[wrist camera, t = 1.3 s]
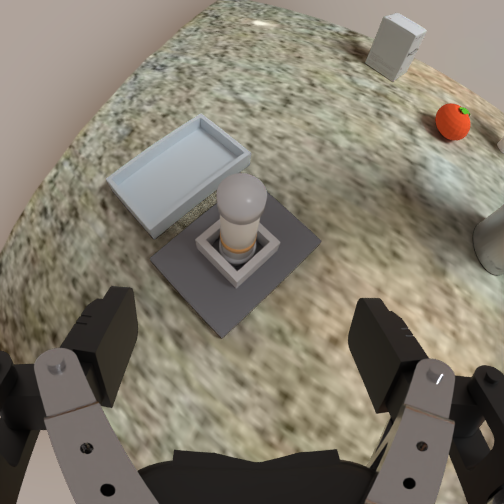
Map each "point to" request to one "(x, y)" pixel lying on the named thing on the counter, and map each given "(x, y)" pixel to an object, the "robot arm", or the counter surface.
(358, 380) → the counter surface
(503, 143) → the drinking glass
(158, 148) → the tray
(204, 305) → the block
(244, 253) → the white bottle
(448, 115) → the clementine
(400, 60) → the supplement box
